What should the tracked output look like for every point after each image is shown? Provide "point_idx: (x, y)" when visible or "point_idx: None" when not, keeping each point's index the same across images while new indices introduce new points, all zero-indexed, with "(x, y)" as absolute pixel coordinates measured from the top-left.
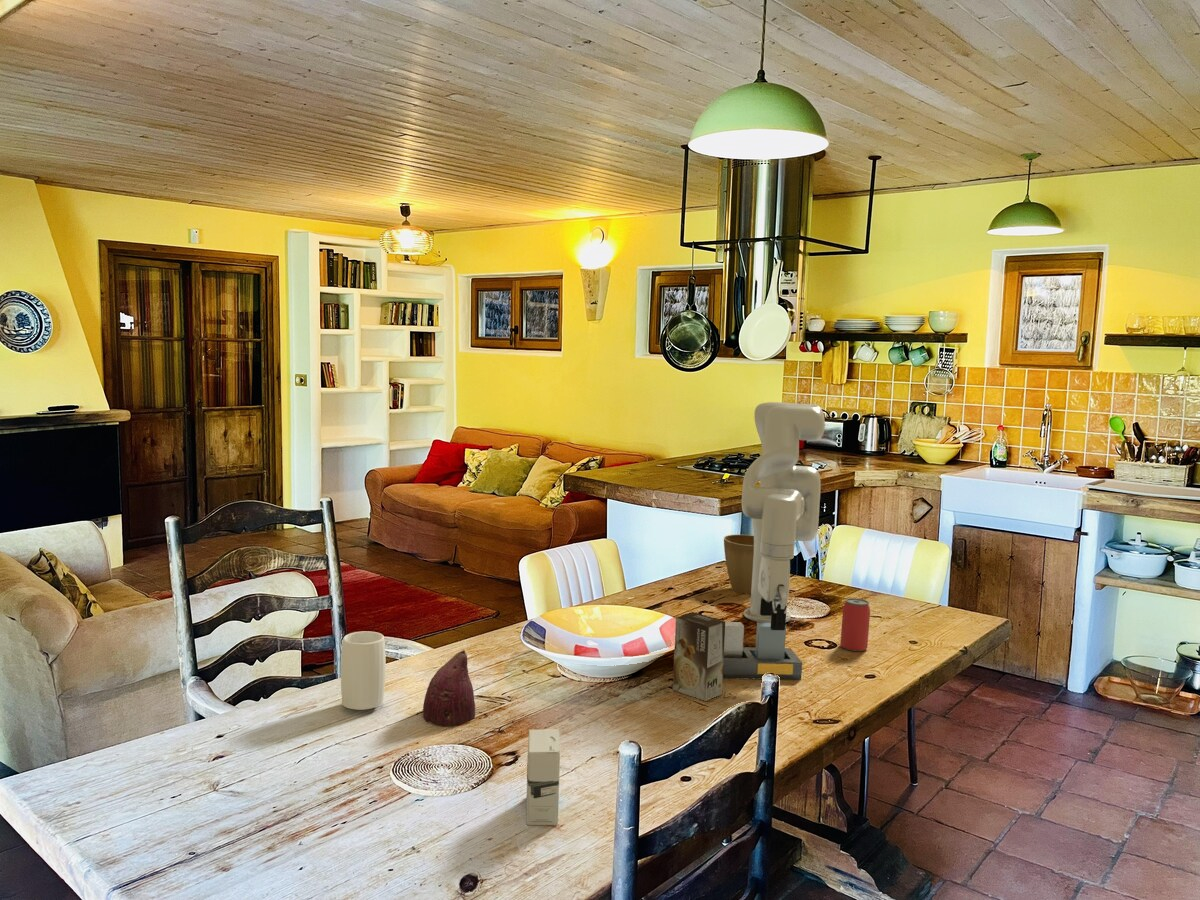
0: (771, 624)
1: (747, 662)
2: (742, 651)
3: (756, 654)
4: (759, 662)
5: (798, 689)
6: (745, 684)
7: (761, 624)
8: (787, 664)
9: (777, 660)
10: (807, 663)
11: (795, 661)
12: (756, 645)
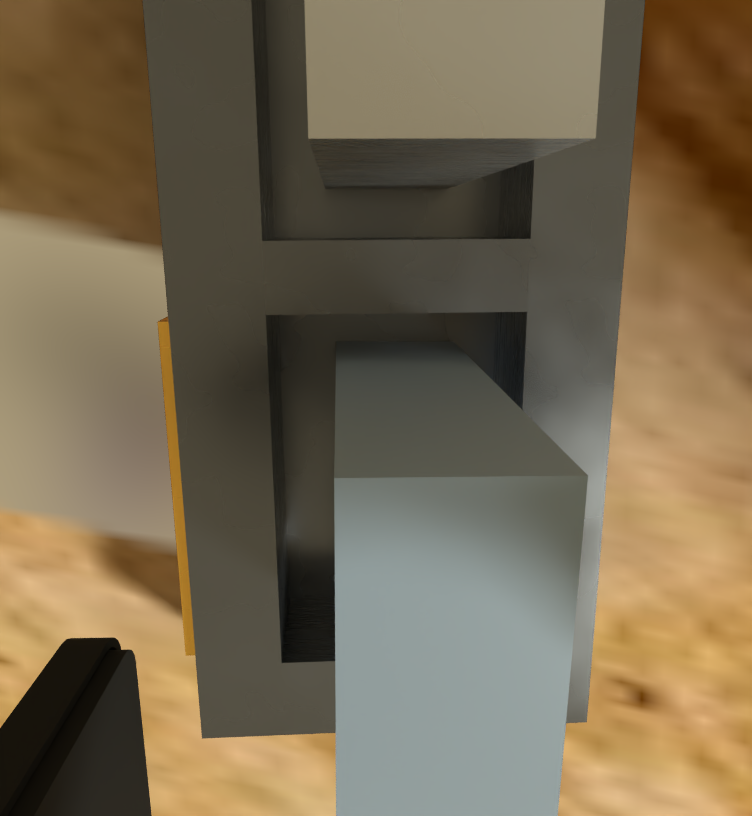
0: (25, 700)
1: (160, 207)
2: (323, 177)
3: (413, 362)
4: (172, 341)
5: (23, 581)
6: (61, 171)
7: (464, 529)
8: (184, 603)
9: (232, 533)
10: (572, 758)
11: (226, 688)
12: (452, 381)
